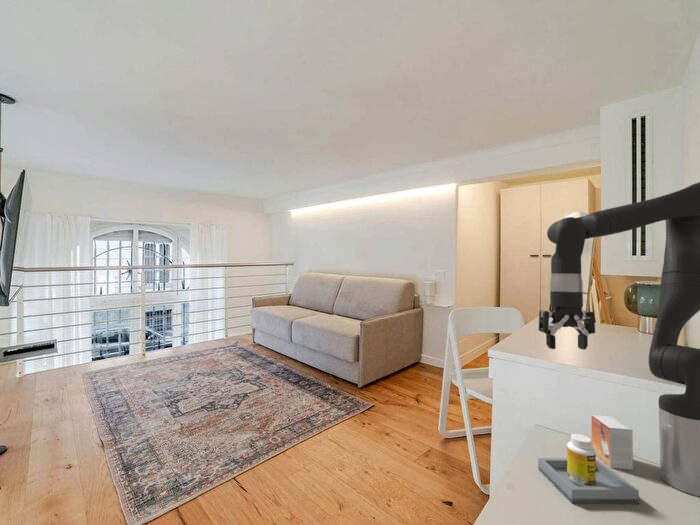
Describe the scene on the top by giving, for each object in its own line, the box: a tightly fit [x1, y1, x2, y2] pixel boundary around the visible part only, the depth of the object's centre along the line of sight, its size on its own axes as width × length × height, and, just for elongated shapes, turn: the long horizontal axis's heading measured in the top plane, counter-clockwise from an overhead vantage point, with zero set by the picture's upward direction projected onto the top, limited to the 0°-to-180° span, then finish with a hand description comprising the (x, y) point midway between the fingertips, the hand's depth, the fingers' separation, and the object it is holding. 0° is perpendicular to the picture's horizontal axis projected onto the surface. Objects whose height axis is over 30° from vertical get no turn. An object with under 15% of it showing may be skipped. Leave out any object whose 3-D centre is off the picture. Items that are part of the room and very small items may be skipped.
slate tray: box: [537, 457, 640, 505], centre depth 76 cm, size 15×12×3 cm
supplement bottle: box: [566, 433, 597, 487], centre depth 76 cm, size 6×6×10 cm
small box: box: [591, 414, 634, 471], centre depth 86 cm, size 8×6×10 cm
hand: (566, 348), depth 87 cm, fingers open, 8 cm apart
